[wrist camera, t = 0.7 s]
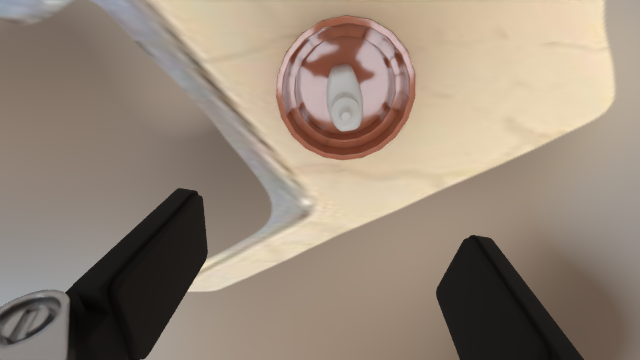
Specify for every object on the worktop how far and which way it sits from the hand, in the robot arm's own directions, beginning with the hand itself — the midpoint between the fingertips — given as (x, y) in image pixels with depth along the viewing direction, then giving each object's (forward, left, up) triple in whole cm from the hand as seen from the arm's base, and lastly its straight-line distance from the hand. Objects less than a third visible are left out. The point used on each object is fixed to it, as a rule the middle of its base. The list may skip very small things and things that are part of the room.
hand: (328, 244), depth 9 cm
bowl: (-1, +1, -26) cm, 26 cm away
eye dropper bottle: (-1, +1, -25) cm, 25 cm away
